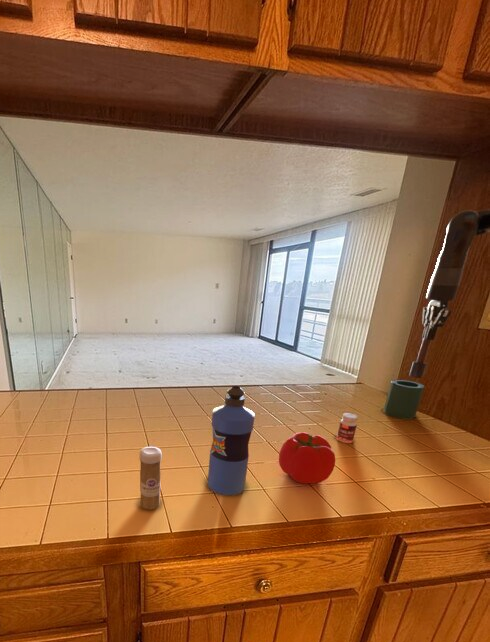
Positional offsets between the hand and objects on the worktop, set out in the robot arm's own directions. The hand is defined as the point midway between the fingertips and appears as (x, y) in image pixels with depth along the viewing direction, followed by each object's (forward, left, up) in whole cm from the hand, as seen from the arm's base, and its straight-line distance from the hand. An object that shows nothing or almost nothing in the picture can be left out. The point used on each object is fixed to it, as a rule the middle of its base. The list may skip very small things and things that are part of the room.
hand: (427, 338), depth 116 cm
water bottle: (+61, +61, -29) cm, 91 cm away
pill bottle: (+26, +26, -29) cm, 47 cm away
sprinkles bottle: (+77, +73, -29) cm, 110 cm away
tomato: (+42, +52, -29) cm, 73 cm away
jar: (0, -4, -29) cm, 29 cm away
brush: (0, 0, -13) cm, 13 cm away
